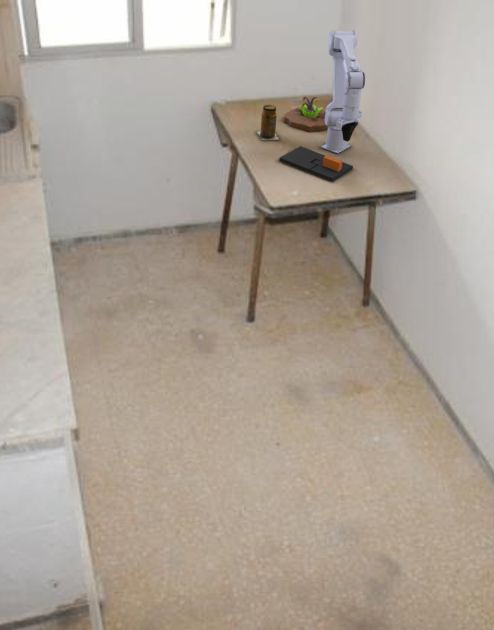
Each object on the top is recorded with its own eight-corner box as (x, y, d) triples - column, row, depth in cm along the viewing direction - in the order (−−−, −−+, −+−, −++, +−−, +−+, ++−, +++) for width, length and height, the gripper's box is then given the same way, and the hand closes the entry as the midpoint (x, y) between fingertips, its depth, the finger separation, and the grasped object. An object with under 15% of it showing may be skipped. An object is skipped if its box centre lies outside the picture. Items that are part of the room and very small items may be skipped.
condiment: (273, 131, 298) (276, 103, 291) (279, 139, 291) (281, 111, 284) (256, 132, 296) (258, 103, 289) (261, 140, 290) (263, 112, 283)
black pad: (300, 149, 285) (300, 146, 284) (329, 160, 279) (330, 157, 278) (279, 161, 277) (279, 157, 276) (308, 172, 270) (309, 169, 269)
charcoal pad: (324, 158, 280) (325, 146, 277) (352, 169, 274) (354, 157, 271) (303, 170, 271) (304, 158, 268) (332, 182, 265) (333, 169, 262)
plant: (312, 135, 296) (315, 109, 289) (276, 120, 306) (278, 95, 300) (342, 122, 308) (345, 97, 301) (307, 108, 318) (309, 83, 311)
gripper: (349, 114, 255) (344, 149, 263) (371, 102, 264) (365, 137, 272) (333, 108, 258) (328, 143, 266) (354, 97, 267) (349, 132, 275)
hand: (346, 140), depth 269 cm, fingers closed
